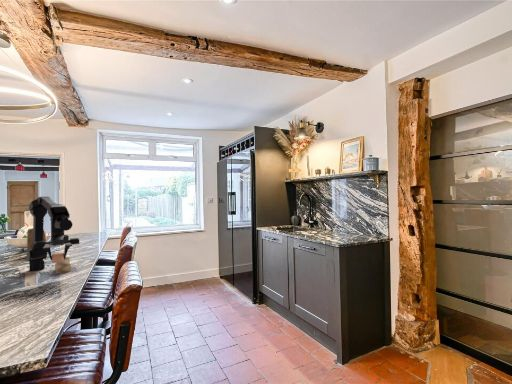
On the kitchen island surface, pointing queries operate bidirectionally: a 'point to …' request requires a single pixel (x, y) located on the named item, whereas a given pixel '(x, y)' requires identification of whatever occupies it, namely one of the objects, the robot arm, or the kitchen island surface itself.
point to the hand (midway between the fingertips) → (57, 259)
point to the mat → (52, 272)
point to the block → (30, 237)
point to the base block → (62, 268)
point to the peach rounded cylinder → (57, 257)
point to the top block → (65, 261)
